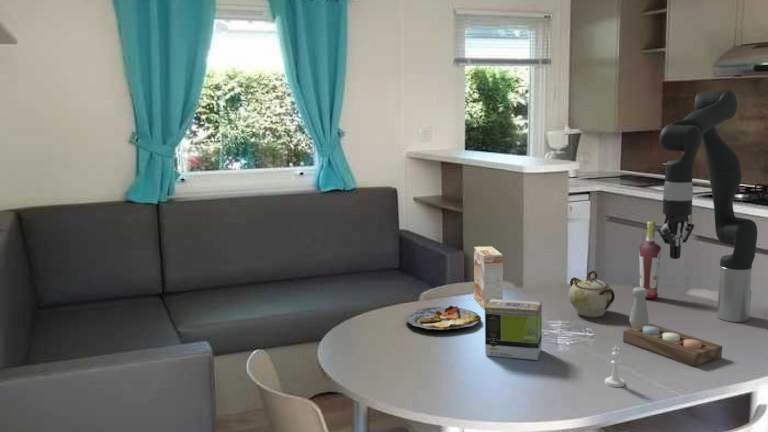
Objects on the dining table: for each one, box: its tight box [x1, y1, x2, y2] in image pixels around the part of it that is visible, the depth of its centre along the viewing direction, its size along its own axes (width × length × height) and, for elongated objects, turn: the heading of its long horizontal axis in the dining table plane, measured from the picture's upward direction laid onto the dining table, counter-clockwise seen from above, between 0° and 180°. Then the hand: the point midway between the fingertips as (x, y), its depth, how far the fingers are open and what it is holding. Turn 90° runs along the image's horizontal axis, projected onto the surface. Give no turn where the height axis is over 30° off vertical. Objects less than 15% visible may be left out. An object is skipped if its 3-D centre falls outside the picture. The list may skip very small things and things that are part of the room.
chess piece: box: [604, 345, 626, 388], centre depth 179 cm, size 5×5×10 cm
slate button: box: [643, 326, 659, 336], centre depth 207 cm, size 5×5×3 cm
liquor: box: [638, 220, 662, 300], centre depth 252 cm, size 7×7×28 cm
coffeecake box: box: [473, 245, 504, 311], centre depth 250 cm, size 15×7×20 cm, turn 6°
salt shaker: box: [628, 286, 650, 328], centre depth 220 cm, size 6×6×13 cm
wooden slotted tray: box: [622, 323, 723, 368], centre depth 202 cm, size 12×24×4 cm, turn 30°
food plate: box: [404, 305, 482, 331], centre depth 231 cm, size 25×23×4 cm
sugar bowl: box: [567, 270, 616, 318], centre depth 236 cm, size 20×15×15 cm
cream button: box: [662, 333, 680, 342], centre depth 201 cm, size 5×5×3 cm
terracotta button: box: [684, 339, 702, 350], centre depth 196 cm, size 5×5×3 cm
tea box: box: [484, 298, 543, 361], centre depth 201 cm, size 15×10×15 cm, turn 71°
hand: (674, 258), depth 198 cm, fingers closed
